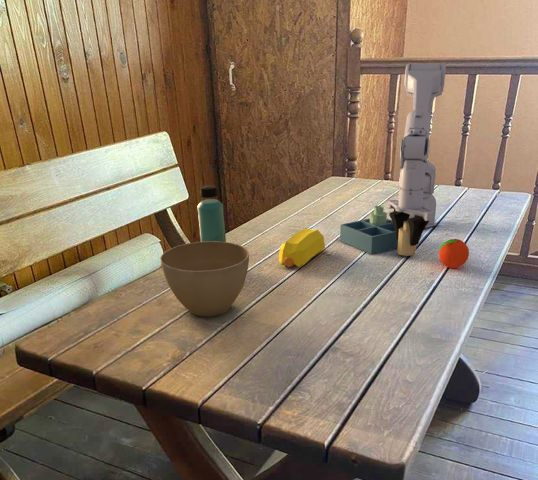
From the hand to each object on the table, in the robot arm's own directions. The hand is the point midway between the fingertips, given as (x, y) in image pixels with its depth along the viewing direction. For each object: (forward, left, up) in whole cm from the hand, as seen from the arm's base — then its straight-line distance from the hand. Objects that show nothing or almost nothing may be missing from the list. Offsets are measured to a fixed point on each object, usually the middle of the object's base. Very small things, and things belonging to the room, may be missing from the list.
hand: (407, 242), depth 147 cm
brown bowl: (+56, +2, -4) cm, 56 cm away
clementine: (-3, +13, -4) cm, 13 cm away
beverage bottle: (+44, -21, -4) cm, 49 cm away
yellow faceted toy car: (+23, -13, -4) cm, 27 cm away
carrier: (0, -13, -4) cm, 14 cm away
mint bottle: (-4, -16, -3) cm, 17 cm away
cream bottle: (0, 0, -3) cm, 3 cm away
